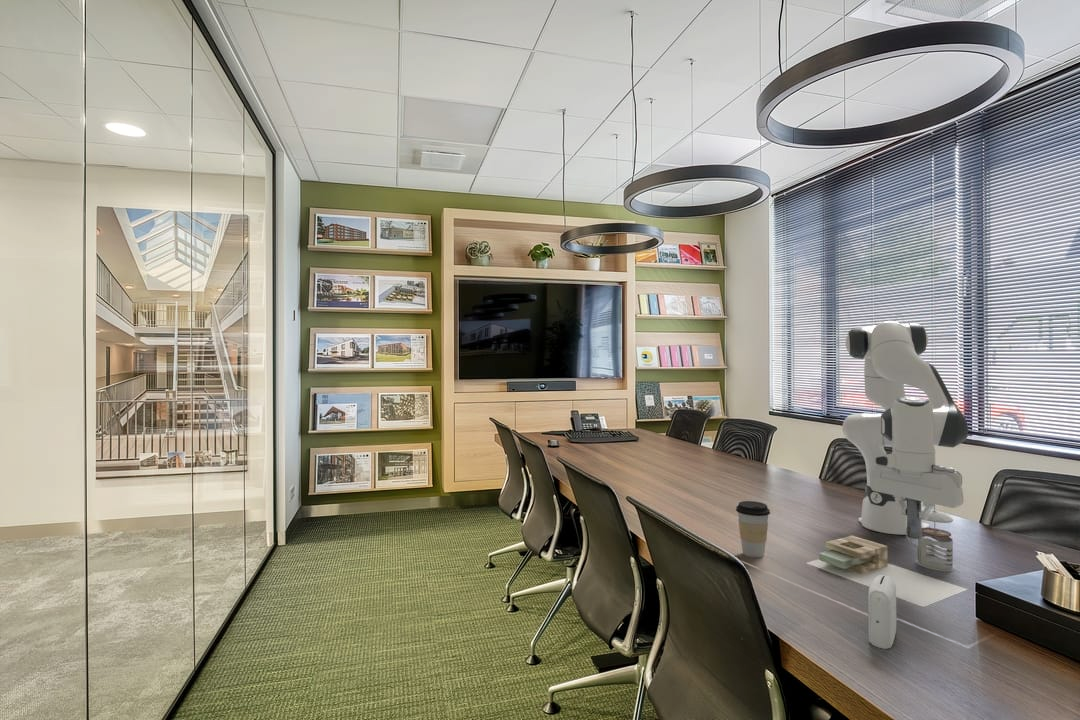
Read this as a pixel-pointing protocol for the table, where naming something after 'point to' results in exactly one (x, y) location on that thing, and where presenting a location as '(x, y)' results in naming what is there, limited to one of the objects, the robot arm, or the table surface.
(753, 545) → the coffee cup
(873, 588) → the white rounded slab
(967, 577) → the table surface
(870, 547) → the clevis
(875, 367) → the robot arm
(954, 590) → the mat
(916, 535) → the pin
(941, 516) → the french press
